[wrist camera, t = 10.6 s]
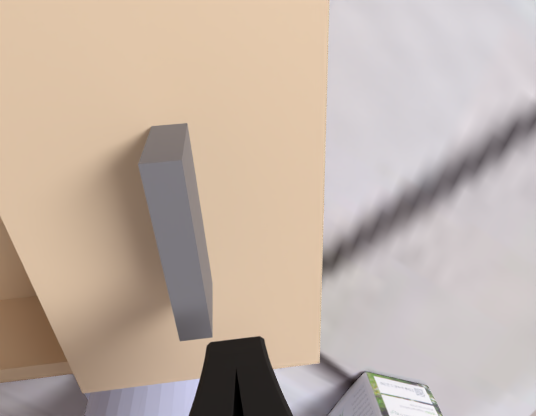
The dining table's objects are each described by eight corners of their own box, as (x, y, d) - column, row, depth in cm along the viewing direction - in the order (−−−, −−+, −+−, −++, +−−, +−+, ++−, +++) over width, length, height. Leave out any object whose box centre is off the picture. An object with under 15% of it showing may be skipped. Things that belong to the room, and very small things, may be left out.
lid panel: (316, 351, 18) (333, 418, 16) (86, 380, 18) (64, 455, 15) (326, -112, 10) (368, -136, 7) (-124, -91, 9) (-261, -109, 6)
